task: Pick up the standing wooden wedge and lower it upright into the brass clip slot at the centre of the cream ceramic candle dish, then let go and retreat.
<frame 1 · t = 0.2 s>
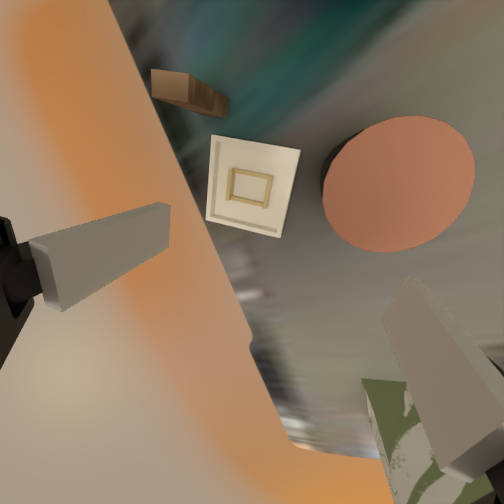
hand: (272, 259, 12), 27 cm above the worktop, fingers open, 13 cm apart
wooden wedge: (214, 106, 35), on the worktop
coffee jar: (356, 174, 34), on the worktop
grocery bag: (450, 403, 45), on the worktop
candle dish: (251, 187, 39), on the worktop
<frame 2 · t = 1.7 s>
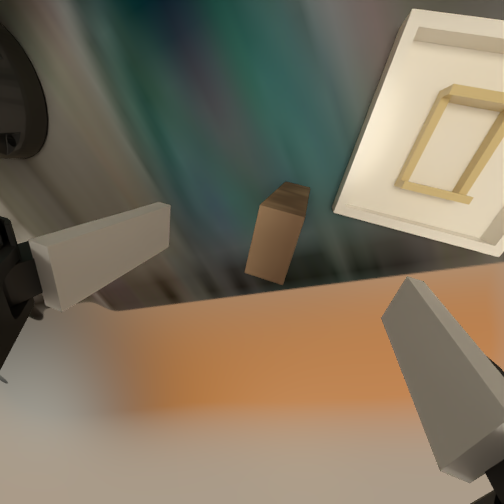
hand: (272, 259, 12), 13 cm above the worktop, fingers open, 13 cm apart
wooden wedge: (291, 205, 24), on the worktop
candle dish: (444, 149, 19), on the worktop
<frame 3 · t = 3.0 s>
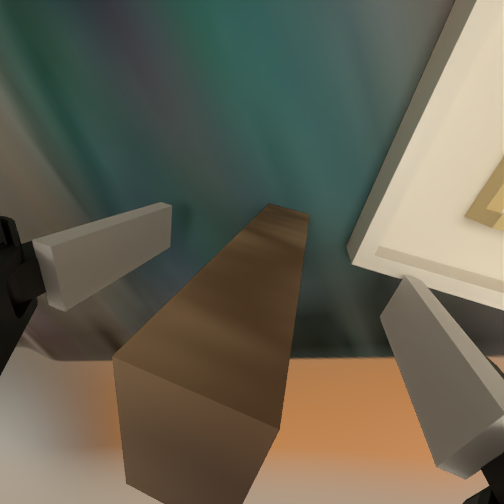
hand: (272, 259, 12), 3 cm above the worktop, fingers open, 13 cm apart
wooden wedge: (279, 242, 15), on the worktop
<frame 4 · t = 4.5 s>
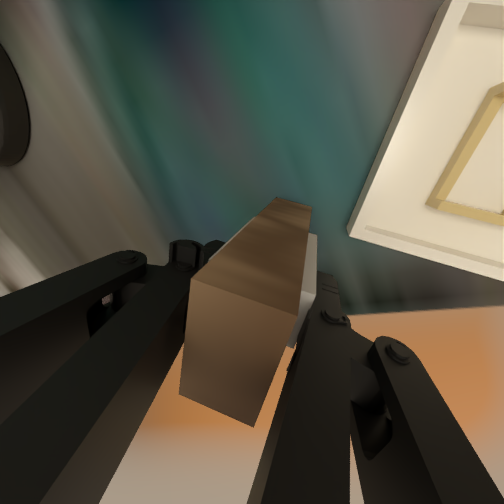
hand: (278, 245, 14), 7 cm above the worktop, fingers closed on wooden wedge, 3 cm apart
wooden wedge: (285, 231, 17), point 4 cm above the worktop, touching gripper
candle dish: (491, 161, 15), on the worktop
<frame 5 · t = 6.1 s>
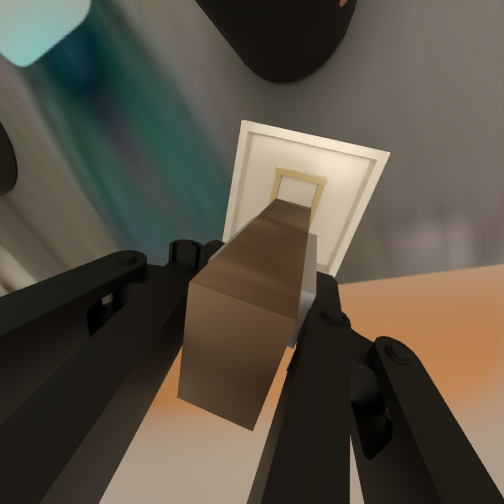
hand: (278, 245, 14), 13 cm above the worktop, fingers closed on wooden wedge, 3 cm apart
wooden wedge: (284, 232, 17), point 10 cm above the worktop, touching gripper
coffee jar: (290, 13, 20), on the worktop
candle dish: (293, 203, 26), on the worktop
when the fingers open (3 cm above the worktop, at t = 8.0 s): wooden wedge stays where it is, resting on candle dish.
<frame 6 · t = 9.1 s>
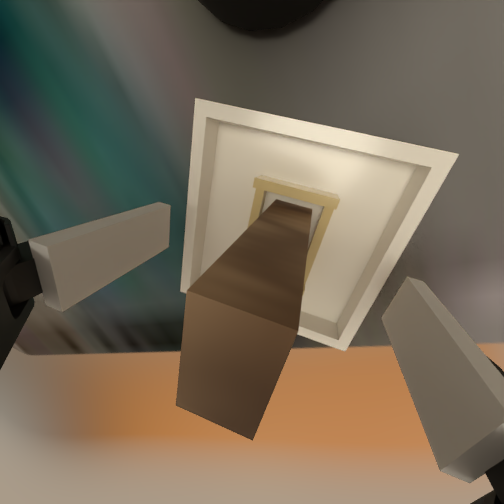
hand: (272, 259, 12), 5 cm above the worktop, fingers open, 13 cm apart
wooden wedge: (285, 233, 16), point 1 cm above the worktop, touching candle dish
candle dish: (285, 230, 17), on the worktop
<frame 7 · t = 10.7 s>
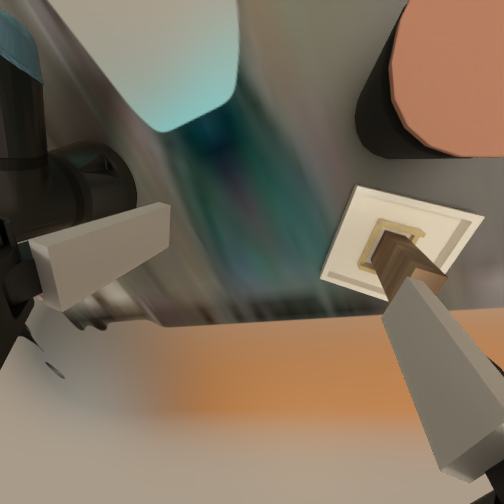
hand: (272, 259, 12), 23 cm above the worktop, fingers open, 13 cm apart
wooden wedge: (387, 247, 31), point 1 cm above the worktop, touching candle dish
coffee jar: (404, 109, 26), on the worktop
candle dish: (385, 245, 31), on the worktop
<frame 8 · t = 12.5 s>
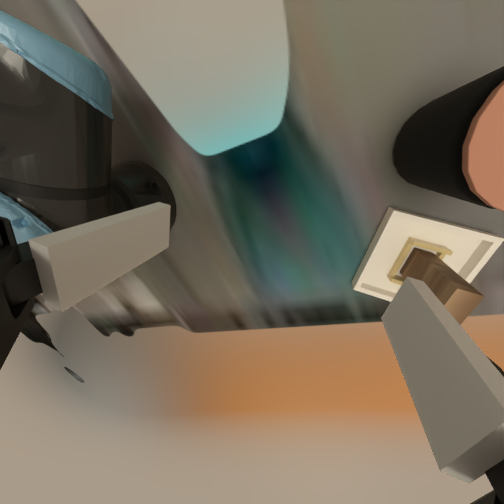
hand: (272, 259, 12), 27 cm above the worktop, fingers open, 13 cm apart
wooden wedge: (415, 262, 35), point 1 cm above the worktop, touching candle dish
coffee jar: (436, 145, 29), on the worktop
candle dish: (413, 260, 35), on the worktop
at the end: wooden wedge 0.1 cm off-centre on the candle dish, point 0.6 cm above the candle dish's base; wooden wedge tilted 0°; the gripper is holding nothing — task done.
